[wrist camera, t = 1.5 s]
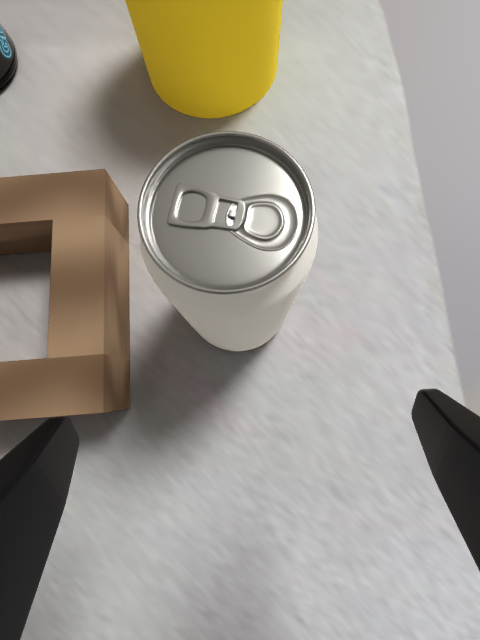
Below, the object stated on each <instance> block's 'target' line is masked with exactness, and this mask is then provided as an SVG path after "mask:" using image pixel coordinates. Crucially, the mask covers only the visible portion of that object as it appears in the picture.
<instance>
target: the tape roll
mask: <svg viewBox="0 0 480 640" xmlns="http://www.w3.org/2000/svg"><path fill="white" fill-rule="evenodd" d="M125 1H126V4H127V7H128V10H129V14H130V17H131V20H132V23H133V26H134V29H135V32H136V36H137V39H138V42H139V45H140V48H141V51H142V55H143V58H144V61H145V64H146V67H147V70H148V73H149V77H150V80H151V83H152V85H153V87H154V89H155V91H156V93H157V94H158V95H159V97H160V98H161V99H162V100H163V101H164V102H165V103H166V104H168V105H169V106H170V107H172V108H173V109H175V110H177V111H179V112H181V113H184V114H186V115H190V116H193V117H199V118H221V117H227V116H231V115H234V114H237V113H240V112H242V111H244V110H246V109H248V108H249V107H251V106H253V105H254V104H255V103H257V102H258V101H259V100H260V99H261V98H262V97H263V96H264V95H265V94H266V93H267V91H268V90H269V88H270V87H271V85H272V83H273V81H274V78H275V75H276V71H277V61H278V50H279V38H280V26H281V15H282V3H283V0H125Z"/></svg>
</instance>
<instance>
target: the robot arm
mask: <svg viewBox="0 0 480 640" xmlns="http://www.w3.org/2000/svg"><path fill="white" fill-rule="evenodd" d="M412 420H413V423H414V426H415V428H416V431H417V434H418V436H419V439H420V442H421V445H422V447H423V450H424V453H425V455H426V458H427V461H428V464H429V466H430V469H431V471H432V474H433V476H434V479H435V481H436V483H437V485H438V487H439V489H440V492H441V494H442V496H443V498H444V500H445V502H446V504H447V506H448V508H449V510H450V512H451V514H452V516H453V518H454V520H455V522H456V524H457V526H458V528H459V530H460V532H461V534H462V536H463V538H464V540H465V542H466V544H467V546H468V548H469V550H470V553H471V555H472V557H473V559H474V561H475V563H476V565H477V567H478V569H479V571H480V417H479V416H478V415H476V414H475V413H473V412H472V411H470V410H469V409H467V408H466V407H464V406H463V405H461V404H460V403H458V402H457V401H455V400H453V399H452V398H450V397H449V396H447V395H446V394H444V393H443V392H441V391H440V390H438V389H422V390H419V391H418V393H417V396H416V399H415V402H414V405H413V409H412ZM78 447H79V436H78V434H77V432H76V430H75V428H74V426H73V424H72V422H71V420H70V419H69V417H67V416H56V417H51V418H49V419H47V420H46V421H45V422H44V423H43V424H41V425H40V426H39V427H38V428H37V429H36V430H34V431H33V432H32V433H31V434H30V435H29V436H27V437H26V438H25V439H24V440H23V441H22V442H20V443H19V444H18V445H17V446H16V447H15V448H13V449H12V450H11V451H10V452H9V453H8V454H6V455H5V456H4V457H3V458H2V459H1V460H0V640H20V638H21V635H22V632H23V629H24V627H25V624H26V621H27V618H28V615H29V612H30V609H31V606H32V603H33V600H34V597H35V594H36V591H37V588H38V585H39V582H40V579H41V576H42V573H43V570H44V567H45V564H46V561H47V558H48V555H49V552H50V549H51V546H52V543H53V540H54V537H55V534H56V531H57V528H58V525H59V522H60V519H61V516H62V513H63V510H64V507H65V504H66V500H67V496H68V491H69V487H70V483H71V478H72V474H73V469H74V465H75V460H76V456H77V451H78Z"/></svg>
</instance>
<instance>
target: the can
mask: <svg viewBox="0 0 480 640" xmlns="http://www.w3.org/2000/svg"><path fill="white" fill-rule="evenodd" d="M137 219H138V228H139V232H140V242H141V250H142V255H143V258H144V261H145V264H146V267H147V269H148V271H149V273H150V275H151V277H152V278H153V280H154V282H155V283H156V285H157V286H158V287H159V289H160V290H161V291H162V292H163V294H164V295H165V296H166V297H167V298H168V300H169V301H170V302H171V303H172V304H173V305H174V307H175V308H176V309H177V310H178V311H179V312H180V313H181V315H182V316H183V317H184V318H185V319H186V320H187V321H188V322H189V324H190V325H191V326H192V327H193V328H194V329H195V330H196V331H197V332H198V333H199V334H200V335H201V336H202V337H203V338H204V339H205V340H206V341H207V342H209V343H210V344H212V345H214V346H216V347H218V348H221V349H224V350H229V351H246V350H251V349H254V348H257V347H259V346H261V345H263V344H264V343H266V342H267V341H269V340H270V339H271V338H272V337H273V336H274V335H275V334H276V333H277V332H278V330H279V329H280V328H281V326H282V325H283V323H284V321H285V319H286V317H287V316H288V314H289V312H290V310H291V308H292V306H293V304H294V302H295V300H296V298H297V296H298V294H299V292H300V290H301V288H302V286H303V284H304V282H305V280H306V278H307V275H308V273H309V271H310V268H311V266H312V263H313V260H314V257H315V253H316V248H317V242H318V224H317V218H316V214H315V199H314V194H313V190H312V187H311V184H310V182H309V180H308V177H307V176H306V174H305V172H304V170H303V169H302V167H301V166H300V165H299V163H298V162H297V161H296V160H295V159H294V158H293V157H292V156H291V155H290V154H289V153H288V152H287V151H285V150H284V149H283V148H281V147H280V146H279V145H277V144H275V143H273V142H272V141H270V140H268V139H265V138H263V137H260V136H257V135H254V134H250V133H245V132H237V131H219V132H212V133H207V134H203V135H199V136H196V137H194V138H191V139H189V140H187V141H185V142H183V143H181V144H179V145H178V146H176V147H174V148H173V149H172V150H170V151H169V152H168V153H167V154H165V155H164V156H163V157H162V158H161V159H160V160H159V161H158V162H157V164H156V165H155V166H154V167H153V169H152V170H151V172H150V173H149V175H148V177H147V178H146V180H145V182H144V185H143V187H142V190H141V193H140V197H139V202H138V210H137Z"/></svg>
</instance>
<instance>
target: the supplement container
mask: <svg viewBox="0 0 480 640" xmlns="http://www.w3.org/2000/svg"><path fill="white" fill-rule="evenodd" d="M16 65H17V52H16V48H15V45H14V43H13V41H12V39H11V37H10V36H9V34H8V33H7V32H6V30H5V29H4V27H3V26H2V24H1V23H0V90H1V89H2V88H3V87H4V86H5V85H6V84H7V83H8V82H9V81H10V80H11V78H12V77H13V75H14V73H15V70H16Z"/></svg>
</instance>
